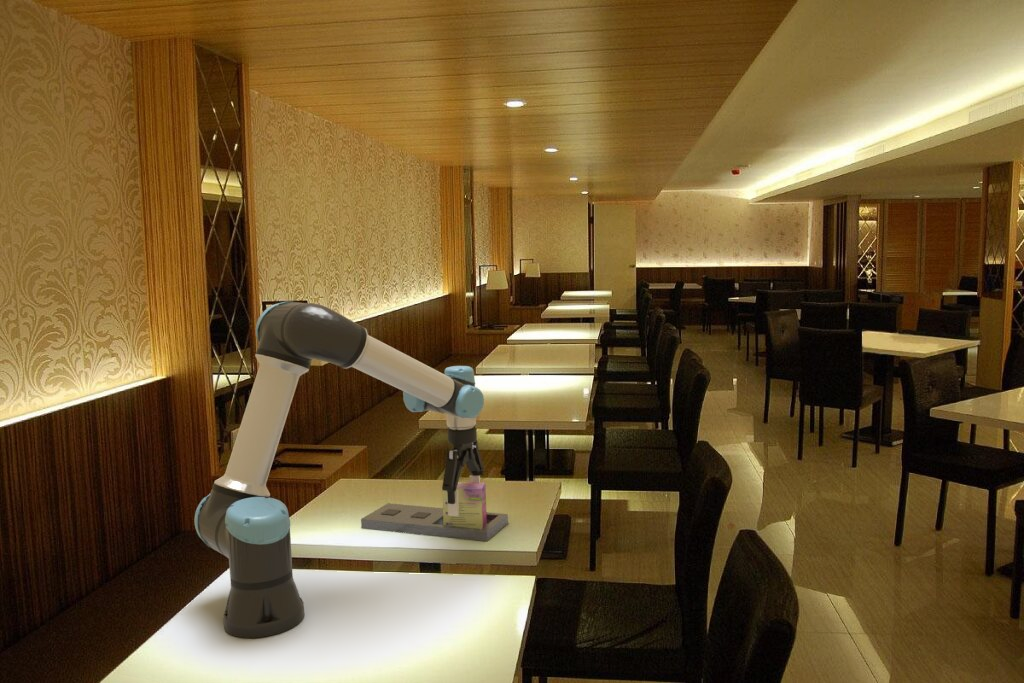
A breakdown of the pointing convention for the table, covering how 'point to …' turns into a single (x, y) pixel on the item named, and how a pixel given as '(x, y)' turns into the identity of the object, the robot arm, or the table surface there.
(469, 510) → the box
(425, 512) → the plate with rectangular opening
